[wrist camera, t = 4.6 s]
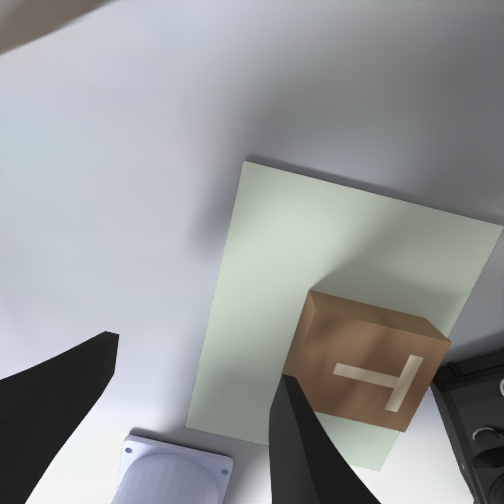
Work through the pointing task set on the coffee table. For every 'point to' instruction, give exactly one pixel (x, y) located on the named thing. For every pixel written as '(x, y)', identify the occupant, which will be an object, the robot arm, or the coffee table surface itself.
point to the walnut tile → (363, 360)
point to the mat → (321, 290)
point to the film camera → (475, 422)
